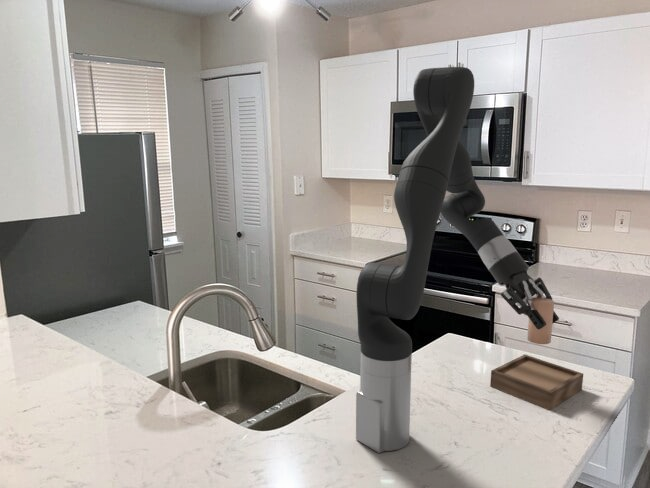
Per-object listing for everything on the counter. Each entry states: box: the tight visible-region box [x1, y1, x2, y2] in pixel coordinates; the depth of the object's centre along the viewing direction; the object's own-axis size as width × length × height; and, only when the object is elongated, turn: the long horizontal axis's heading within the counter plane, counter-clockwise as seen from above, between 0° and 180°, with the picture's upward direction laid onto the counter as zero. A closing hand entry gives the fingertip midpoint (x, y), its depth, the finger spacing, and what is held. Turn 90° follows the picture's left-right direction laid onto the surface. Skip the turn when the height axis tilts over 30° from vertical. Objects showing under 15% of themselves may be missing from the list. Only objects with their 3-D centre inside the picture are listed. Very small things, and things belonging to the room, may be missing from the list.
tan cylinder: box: [527, 297, 555, 345], centre depth 116 cm, size 5×5×9 cm
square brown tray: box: [489, 354, 584, 411], centre depth 118 cm, size 14×14×4 cm
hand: (548, 324), depth 114 cm, fingers closed on tan cylinder, 4 cm apart
